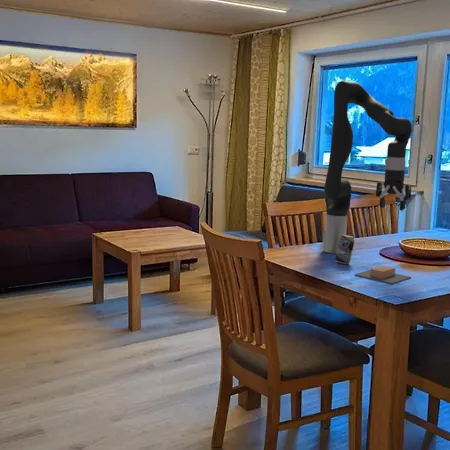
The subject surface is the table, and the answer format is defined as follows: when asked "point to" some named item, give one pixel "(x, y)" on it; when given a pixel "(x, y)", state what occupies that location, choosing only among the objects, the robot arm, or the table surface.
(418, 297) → the table surface
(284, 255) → the table surface
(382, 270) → the tan rectangular block
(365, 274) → the mat
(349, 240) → the beverage can
